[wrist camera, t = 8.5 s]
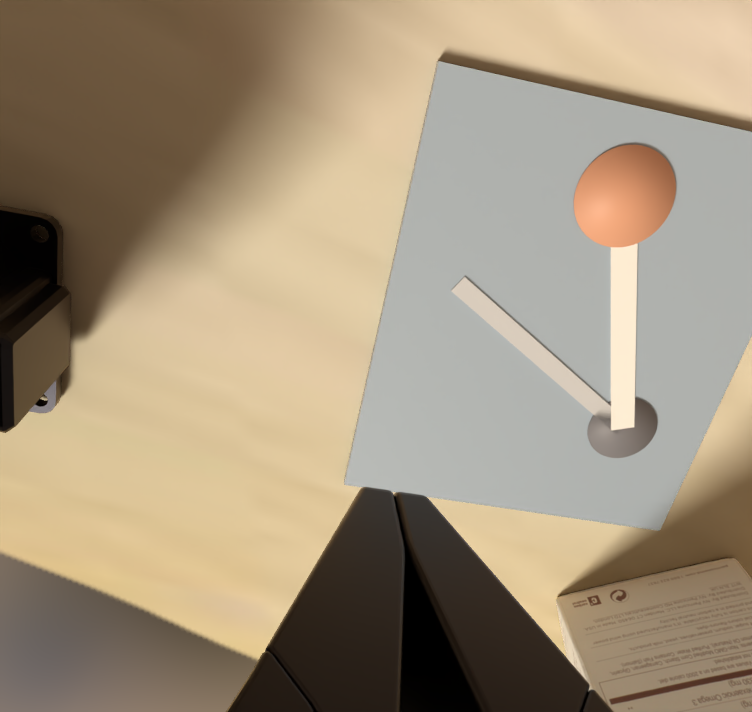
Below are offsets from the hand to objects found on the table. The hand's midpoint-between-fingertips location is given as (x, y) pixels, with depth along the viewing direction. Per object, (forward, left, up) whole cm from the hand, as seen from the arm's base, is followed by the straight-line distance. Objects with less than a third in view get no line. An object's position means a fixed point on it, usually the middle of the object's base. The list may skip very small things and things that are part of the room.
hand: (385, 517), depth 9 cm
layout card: (+7, -1, -13) cm, 15 cm away
